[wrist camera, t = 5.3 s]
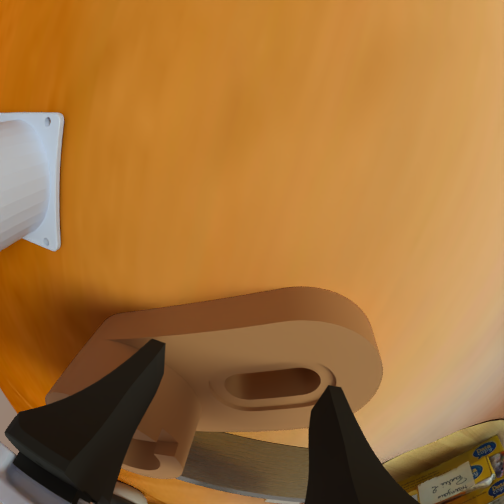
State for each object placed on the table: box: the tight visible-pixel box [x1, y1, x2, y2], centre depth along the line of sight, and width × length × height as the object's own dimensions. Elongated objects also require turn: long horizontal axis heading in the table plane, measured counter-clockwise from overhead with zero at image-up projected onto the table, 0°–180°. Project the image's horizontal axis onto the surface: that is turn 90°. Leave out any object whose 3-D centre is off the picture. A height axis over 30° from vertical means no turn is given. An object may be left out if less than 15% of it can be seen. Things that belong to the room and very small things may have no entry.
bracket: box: [45, 287, 383, 479], centre depth 14 cm, size 18×8×7 cm, turn 106°
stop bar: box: [176, 431, 309, 504], centre depth 19 cm, size 17×4×5 cm, turn 77°
